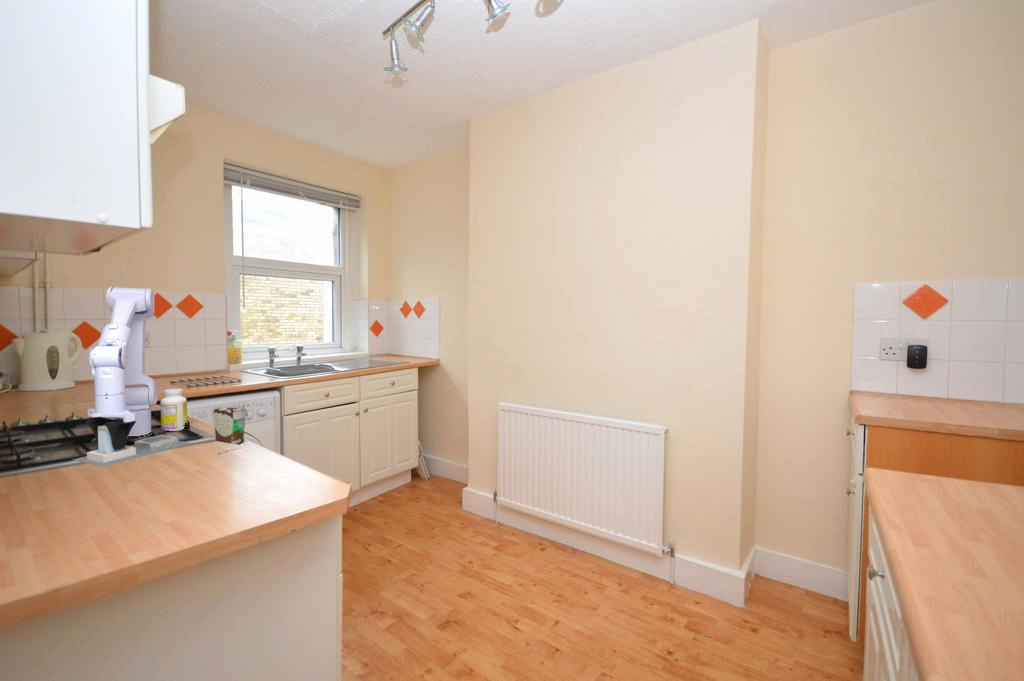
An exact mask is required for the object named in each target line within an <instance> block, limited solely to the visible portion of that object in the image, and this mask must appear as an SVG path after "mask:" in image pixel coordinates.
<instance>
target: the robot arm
mask: <svg viewBox="0 0 1024 681" xmlns="http://www.w3.org/2000/svg"><path fill="white" fill-rule="evenodd" d="M105 302H106V305H107V308H108V309H109V310H110V311H111V318H110V323H108V324H106V325H105V326H103V328H102V331H101V334H100V337H99V340H98V343H97V345H96V346H94V347H92V348H91V349H90V352H89V366H90V368H91V376H92V377H94V382H93V383H94V408H93V407H91V408H88V409H87V417H88V418H92V419H87V420H85V422H86V423H85V424H87V426H88V427H89V428H90V430H91V431H92V433H93V435H94V438H95V441H96V443H97V444H98V426H104V425H106V427H107V428H108V430H109V432H110V435H111V440H112V446H113V449H114V450H118V449H122V448H125V446H127V441H128V439H127V438H128V436H140V435H145V434H148V433H150V432H151V433H152V413H151V412H152V410H151V409H152V407H154V406H155V405H156V404H157V402H158V388H157V381H156V380H155V379H154V378H152V377H150V376H149V375H147V374H145V373H146V372H145V370H146V369H145V368H146V367H145V365H146V363H145V361H146V359H145V358H146V357H145V356H146V324H147V320H148V319H150V318H154V313H155V294H154V290H153V289H152V288H150V287H147V288H145V287H144V288H143V287H141V288H140V287H119V286H117V287H116V286H109V287H108V288H107V290H106V292H105Z"/></svg>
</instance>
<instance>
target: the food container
mask: <svg viewBox="0 0 1024 681" xmlns="http://www.w3.org/2000/svg"><path fill="white" fill-rule="evenodd" d="M212 415H213V427H214V441H215V442H219V443H220V442H221V443H224V444H225V443H226V444H232V445H238V446H240V445H242V444H244V438H245V437H244V436H245V425H246V424H245V423H246V417H248V416H249V414H248V410H247V408H246V407H245V406H241V405H220V406H213V407H212Z"/></svg>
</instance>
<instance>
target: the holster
mask: <svg viewBox="0 0 1024 681" xmlns="http://www.w3.org/2000/svg"><path fill="white" fill-rule="evenodd" d="M130 446H131V445H125V449H124V450H120V451H116V452H112V453H107V454H102V453H99V452H98V449H96V450H90V451H87V452H86V456H87V460H92V461H97V462H102V463H105V462H108V461H112V460H116V459H120V458H124V457H128V456H132V455H136V447H130Z"/></svg>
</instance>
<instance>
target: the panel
mask: <svg viewBox="0 0 1024 681" xmlns="http://www.w3.org/2000/svg"><path fill="white" fill-rule="evenodd" d="M192 444H193V442H189V441H183V440H178V444H175V445H171V448H166V447H163V448H159V449H155V450H151V451H149V450H144V449H138V448H136V455H132V456H128V457H124V458H120V459H116V460H112V461H108V462H105V463H102V462H97V461H92V460H87V455H86V456H82V457H78V458H73V459H72V461H75V462H76V461H77V462H81V463H86V464H91V465H94V466H95V465H96V466H99V467H108V466H112V465H115V464H119V463H123V462H127V461H130V460H134V459H139V458H141V457H142V458H143V457H145V456H149V455H153V454H157V453H161V452H164V451H169V450H171V449H176V448H180V447H185V446H187V445H192ZM129 446H130V447H135V444H133V445H129Z"/></svg>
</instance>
